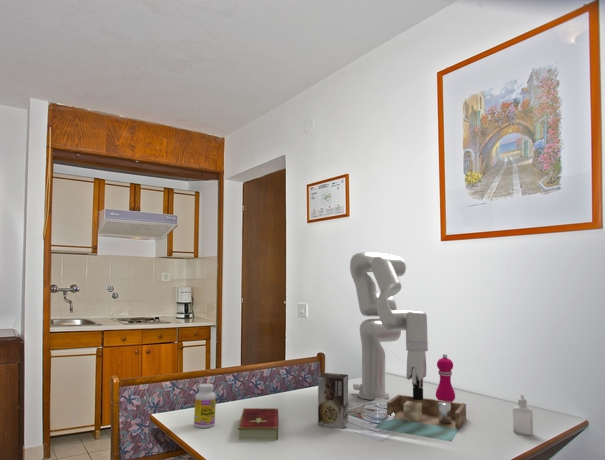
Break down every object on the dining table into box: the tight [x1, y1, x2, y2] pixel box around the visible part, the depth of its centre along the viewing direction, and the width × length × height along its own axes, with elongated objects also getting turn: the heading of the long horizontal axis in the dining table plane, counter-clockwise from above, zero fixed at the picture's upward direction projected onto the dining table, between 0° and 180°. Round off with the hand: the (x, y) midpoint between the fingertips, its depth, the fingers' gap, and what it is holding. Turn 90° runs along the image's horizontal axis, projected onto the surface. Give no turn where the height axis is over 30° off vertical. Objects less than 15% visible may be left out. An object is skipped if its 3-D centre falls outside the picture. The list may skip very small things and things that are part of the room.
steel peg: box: [438, 402, 451, 424], centre depth 158 cm, size 4×4×6 cm
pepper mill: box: [435, 353, 456, 402], centre depth 181 cm, size 7×7×20 cm
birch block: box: [403, 401, 422, 421], centre depth 162 cm, size 5×5×5 cm
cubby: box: [374, 394, 467, 442], centre depth 157 cm, size 24×26×6 cm
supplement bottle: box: [193, 383, 217, 429], centre depth 154 cm, size 7×7×13 cm
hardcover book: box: [237, 407, 279, 441], centre depth 152 cm, size 12×21×4 cm, turn 2°
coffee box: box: [317, 372, 349, 430], centre depth 158 cm, size 9×6×16 cm
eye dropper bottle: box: [512, 394, 534, 436], centre depth 152 cm, size 4×6×12 cm
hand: (418, 399), depth 166 cm, fingers closed
